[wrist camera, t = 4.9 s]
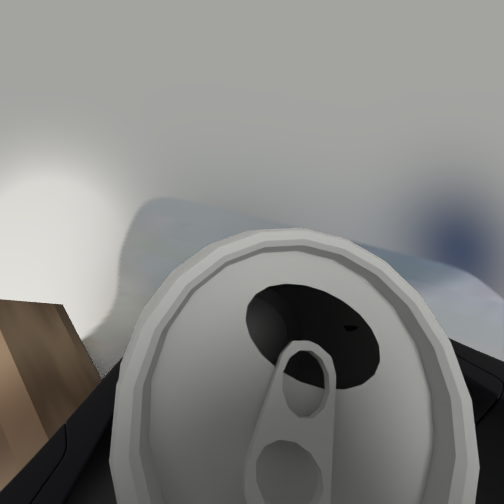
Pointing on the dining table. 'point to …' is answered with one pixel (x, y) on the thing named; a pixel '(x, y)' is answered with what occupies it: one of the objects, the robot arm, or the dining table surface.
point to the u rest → (37, 379)
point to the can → (290, 383)
